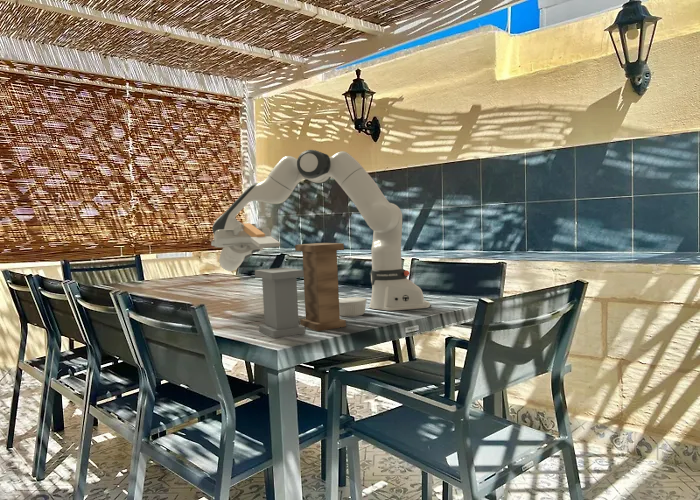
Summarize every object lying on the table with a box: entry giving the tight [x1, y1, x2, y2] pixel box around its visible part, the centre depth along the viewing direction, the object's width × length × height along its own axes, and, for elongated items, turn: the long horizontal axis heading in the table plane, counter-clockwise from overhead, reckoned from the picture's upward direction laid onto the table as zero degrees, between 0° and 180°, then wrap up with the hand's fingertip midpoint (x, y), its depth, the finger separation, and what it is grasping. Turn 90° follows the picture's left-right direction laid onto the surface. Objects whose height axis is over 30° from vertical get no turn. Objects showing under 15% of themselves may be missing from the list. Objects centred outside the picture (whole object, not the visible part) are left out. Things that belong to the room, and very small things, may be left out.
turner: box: [242, 222, 281, 248], centre depth 181 cm, size 23×7×2 cm, turn 30°
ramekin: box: [339, 296, 368, 318], centre depth 191 cm, size 11×11×5 cm
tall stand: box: [294, 242, 347, 332], centre depth 171 cm, size 14×10×26 cm
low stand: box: [254, 266, 306, 339], centre depth 164 cm, size 14×10×19 cm
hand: (248, 225), depth 188 cm, fingers closed on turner, 3 cm apart
